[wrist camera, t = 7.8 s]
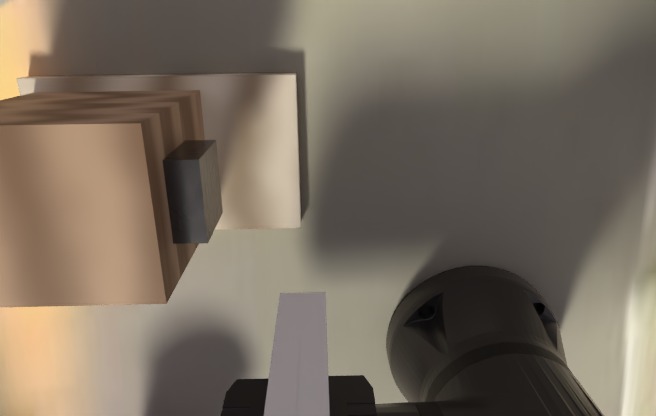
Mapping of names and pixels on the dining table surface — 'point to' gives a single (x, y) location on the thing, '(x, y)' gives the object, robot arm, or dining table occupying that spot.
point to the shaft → (193, 190)
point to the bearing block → (132, 178)
